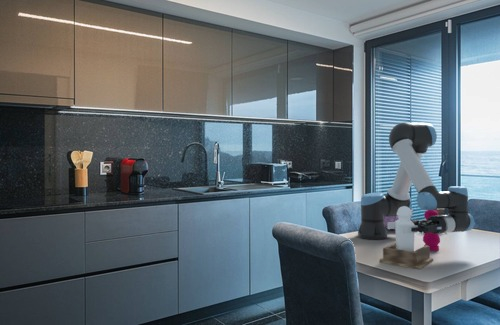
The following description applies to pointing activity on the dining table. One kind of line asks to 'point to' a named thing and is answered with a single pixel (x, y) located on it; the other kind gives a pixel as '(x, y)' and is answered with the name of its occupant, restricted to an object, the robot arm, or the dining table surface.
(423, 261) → the walnut holder
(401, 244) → the white plastic bottle
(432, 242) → the pepper mill
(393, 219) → the bowl of food
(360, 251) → the dining table surface
